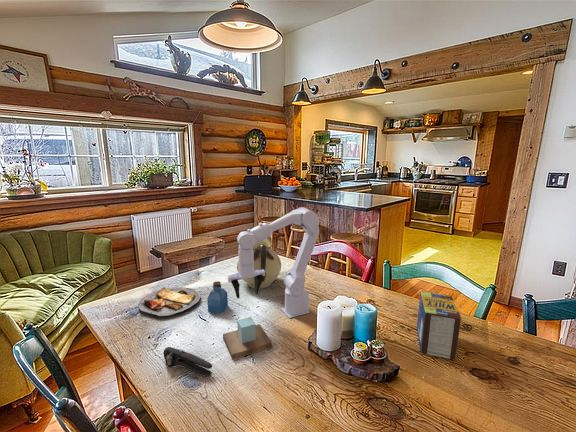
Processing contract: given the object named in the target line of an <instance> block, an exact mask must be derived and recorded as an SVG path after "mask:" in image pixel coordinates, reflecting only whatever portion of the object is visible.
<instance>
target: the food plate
mask: <svg viewBox="0 0 576 432" xmlns="http://www.w3.org/2000/svg"><path fill="white" fill-rule="evenodd" d="M200 299H201V293H200V292H199V291H197V290H196V289H194V288H190V287H182V286H178V287H177V286H174V287H168V288H167V287H161V289H159V290H155V291H153V292H152V293H149V294H147V295H145V296H144V297H142V299H141V300H140V301H139V302H138V303H137V305H138V310H139V311H141V312H144V313H146V314H150V315H155V316H157V317H165V316H166V317H169V316H172V315H175V314H178V313H181V312H184V311H185V310H187V309H190V308H191V307H193V306H194V305H196V304H197V303H198V302H199V301H200ZM184 305H186V306H184Z"/></svg>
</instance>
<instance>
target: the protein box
mask: <svg viewBox="0 0 576 432" xmlns="http://www.w3.org/2000/svg"><path fill="white" fill-rule="evenodd" d="M419 292H420V293H419V302H418V303H419V304H418V312H417V320H416V321H417V322H416V332H417V339H418V344H419V351H420V352H421V353H423V354H422V355H425V354H428V355H427V356H429V355H432V356H431V357H434V356H437V357H436V358H439V357H443V358H442V359H444V358H449V359H454V360H455V361H456V357H457V350H458V344H459V336H460V329H461V322H462V316H461V314H460V311H459V310H458V308H457V305H456V303H455V301H454V298H453V296H452V295H448V294H440V293H433V292H426V291H419ZM421 353H420V354H421ZM449 359H448V360H449ZM454 360H453V361H454Z"/></svg>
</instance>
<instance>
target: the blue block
mask: <svg viewBox="0 0 576 432" xmlns="http://www.w3.org/2000/svg"><path fill="white" fill-rule="evenodd" d="M236 321H237V330H238V337H239V339H240V341H241V343H242V344H243V343H246V342H250V341H253V340H256V325H257V324H256V322H255V321H254V319H253V317H251V316H249V317H245V318H240V319H237V320H236Z"/></svg>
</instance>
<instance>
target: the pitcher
mask: <svg viewBox="0 0 576 432" xmlns="http://www.w3.org/2000/svg"><path fill="white" fill-rule="evenodd" d="M272 247H273V241H272V237H271V236H270V237H268V238H266V239H264V240H262V241H260V242H258V243H255V245H254V246H253V251H254V270H264V271H265V276H262V277H263V281H262V283H261V285H260V288H259V289H265V288H267V287H270V286H271V285H272V283H273V282H274V281H275V280H276V279H277V278H278V277H279V275H280V273H281V270H282V262H281V261H282V260H281V258H280V256H279V255H278V253H276V252H275V251H274V250H273V249H272ZM236 271H237V273H239V259H238V260H237V262H236ZM242 280H243V282H245V283H247V286H248V287H250V288H252V289H255V282H254V277H252V278H247V279H242Z"/></svg>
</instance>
